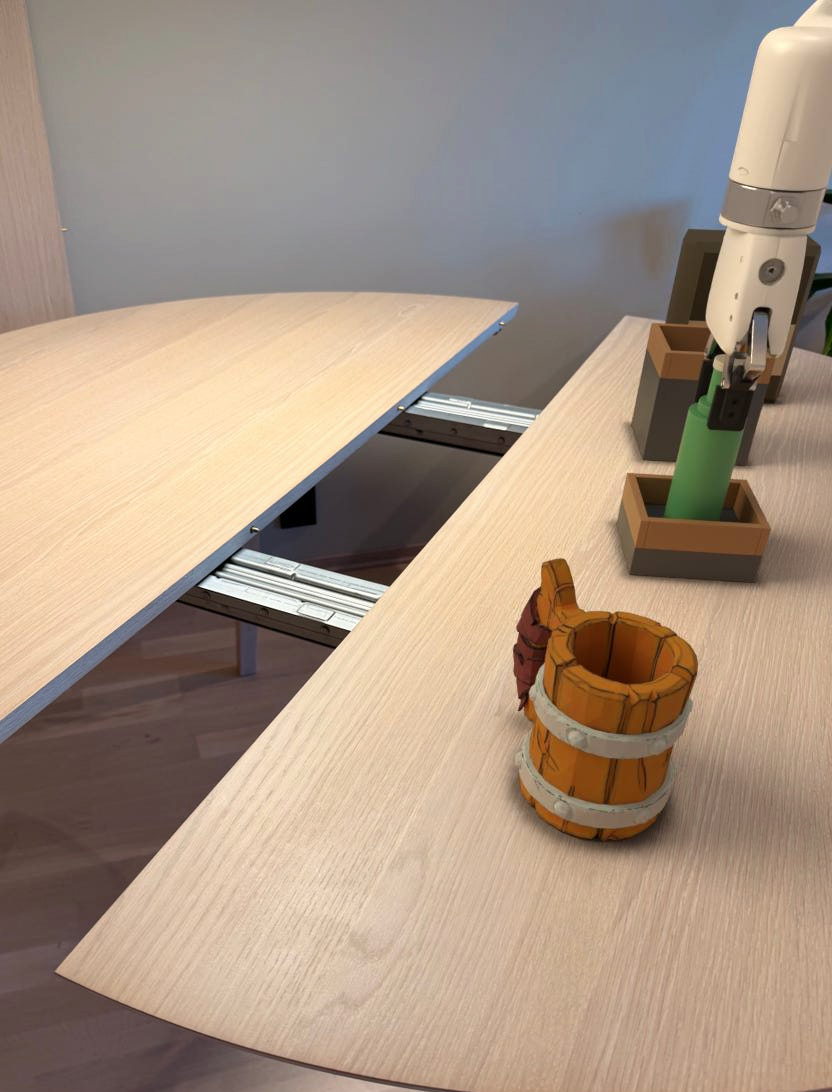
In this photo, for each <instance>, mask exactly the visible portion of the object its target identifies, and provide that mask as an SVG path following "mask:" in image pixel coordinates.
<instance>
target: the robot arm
mask: <svg viewBox="0 0 832 1092" xmlns="http://www.w3.org/2000/svg"><path fill="white" fill-rule="evenodd" d="M750 77H751V78H750V81H749V86H748V89H747V94H746V99H745V104H744V109H743V113H742V117H741V121H740V126H739V131H738V135H737V138H736V144H735V148H734V152H733V156H732V161H731V164H730V169H729V173H728V178H727V182H726V186H725V191H724V195H723V200H722V203H721V209H720V213H719V217H718V222H719V223H720V224H721V225H723V226H724V227H726V229H725V230H726V233H725V236H724V238H723V243H722V247H721V250H720V254H719V257H718V261H717V265H716V268H715V272H714V276H713V280H712V284H711V289H710V293H709V298H708V303H707V309H706V323H707V325H708V327H709V329H710V336H709V339H708V342H707V345H706V348H705V352H704V358H705V359H710V360H703V361H702V366H701V370H700V374H699V378H698V382H697V387H696V391H695V395H694V400H695V402H696V403H698V402H699V399H700V398H701V397H702V396H704V395H707V394H708V390H709V386H710V382H711V378H712V374H713V370H714V367H713V363H714V358H715V357H716V356H717V355H721V354H725V360H724V366H723V373H722V379H721V385H716V388H715V392H714V396H713V400H712V404H711V408H710V412H709V416H708V420H707V424H706V425H707V427H708V429H710V430H721V431H742V430H743V429H744V426H745V423H746V419H747V415H748V412H749V408H750V404H751V401H752V397H753V394H754V391H755V389H756V386H757V381H758V377H760V374H761V373H762V372H763V371H764V369H765V366H766V351H767V352H768V354H769V355H770V356H771V357H773V358H777V357H779V356H780V355H781V354H782V353H783V351H784V348H785V344H786V340H787V336H788V332H789V328H790V324H791V320H792V315H793V311H794V307H795V303H796V298H797V294H798V290H799V285H800V280H801V275H802V270H803V264H804V258H805V251H806V243H807V235H810V234H812V233H814V232H815V231H816V228H817V227H816V226H817V223H818V220H819V216H820V212H821V208H822V205H823V203H824V198H825V195H826V191H827V188H828V185H829V181H830V177H831V174H832V0H816V1H815V2H814V3H812V4H811V5H810V7H809V8H808V9H807V10H805V12H803V14H802V15H801V16H800V17H799V18H798V19H797V20H796V22H795V23H794V25H793V26H783V27H782V26H781V27H778V28H776V29H773V30H771V31H770V32H768V33H767V34H766V35H765V36H764V37H763V39H762V40H761V42H760V44H759V46H758V48H757V52H756V56H755V59H754V63H753V68H752V73H751V76H750ZM806 234H807V235H806ZM741 345H747V352H740V348H741ZM735 359H746V360H745V361H744V362H743V365H738V366H737V367H736V368H735V370H734V371H733V366H734V360H735Z"/></svg>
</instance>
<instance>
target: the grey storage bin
mask: <svg viewBox="0 0 832 1092" xmlns="http://www.w3.org/2000/svg"><path fill="white" fill-rule="evenodd" d="M709 336H710V329H709V327H708V326H707V325H686V324H666V323H665V322H664V323H663V322H651V323H650V329H649V334H648V339H647V343H646V348H645V353H644V358H643V363H642V368H641V374H640V378H639V383H638V388H637V393H636V399H635V402H634V403H635V404H634V407H633V412H632V413H633V414H632V418H631V421H630V424H631V425H630V426H631V429H632V432H633V435H634V438H635V441H636V444H637V447H638V450H639V454H640V457H641V460H643V461H657V462H658V461H659V462H675V463H676V461H677V457H678V453H679V449H680V445H681V440H682V436H683V432H684V428H685V423H686V419H687V415H688V411H689V407H690V406H691V405H693V404H695V403H696V402H695V400H694V395H695V391H696V387H697V382H698V378H699V374H700V370H701V366H702V361H703V360H710V359H705V358H704V352H705V348H706V345H707V342H708V339H709ZM740 352H747V345H741V348H740ZM775 360H776V358H773V357H771V356H770V355H769V354H768V352H767V351H766V366H765V369H764V371H763V372H762V373H761V374H760V377H758V381H757V386H756V389H755V391H754V394H753V397H752V401H751V404H750V408H749V412H748V415H747V421H746V425H745V428H744V432H743V436H742V439H741V443H740V447H739V450H738V454H737V458H736V461H735V465H734V466H746V465H747V462H748V458H749V455H750V451H751V448H752V445H753V441H754V437H755V434H756V431H757V427H758V424H759V420H760V418H761V417H760V416H761V412H762V410H763V406H764V402H765V401H764V399H765V395H766V392H767V388H768V385H769V381H770V377H771V374H772V370H773V367H774V363H775Z"/></svg>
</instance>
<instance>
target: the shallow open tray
mask: <svg viewBox="0 0 832 1092" xmlns="http://www.w3.org/2000/svg"><path fill="white" fill-rule="evenodd" d="M672 478H673V474H672V475H671V474H653V473H640V472H639V473H634V472H626V475H625V480H624V486H623V491H622V495H621V499H620V505H619V509H618V515H617V519H616V528H617V532H618V535H619V539H620V544H621V547H622V552H623V555H624V559H625V563H626V567H627V571H628V575H632V576H633V575H634V576H647V577H648V576H650V577H666V578H678V579H679V578H680V579H695V580H710V581H725V582H726V581H727V582H738V583H739V582H741V583H756V579H757V576H758V573H759V569H760V567H761V563H762V561H763V557H764V553H765V550H766V547H767V544H768V541H769V539H770V535H771V532H772V527H771V525H770V523H769V522H768V519H767V517H766V516H765V514H764V511H763V509H762V507H761V505H760V504H759V501H758V500H757V497H756V496H755V494H754V491H753V490H752V487H751V485H750V483H749V481H748V480H747V479H738V478H731V479H730V483H729V487H728V490H727V494H726V498H725V501H724V505H723V508H722V512H721V516H720V519H719V522H718V521H702V520H685V519H669V518H663V517H664V512H665V508H666V504H667V500H668V495H669V491H670V487H671V483H672Z"/></svg>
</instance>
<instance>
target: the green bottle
mask: <svg viewBox="0 0 832 1092" xmlns="http://www.w3.org/2000/svg"><path fill="white" fill-rule="evenodd" d="M724 360H725V354H721V355H717V356H716V357H715V358H714V363H713V367H714V370H713V374H712V378H711V382H710V386H709V390H708V394H707V395H704V396H702V397H701V398H700V399H699V402H698V403H695V404H693V405H691V406H690V407H689V411H688V415H687V419H686V423H685V428H684V432H683V436H682V440H681V445H680V449H679V453H678V457H677V461H676V462H675V465H674V466H675V467H674V470H673V474H672V475H673V478H672V483H671V487H670V491H669V495H668V500H667V504H666V508H665V512H664V517H663V518H669V519H685V520H702V521H718V522H719V519H720V516H721V512H722V508H723V505H724V501H725V498H726V494H727V490H728V487H729V483H730V479H732V476H733V472H734V468H735V466H736V465H735V461H736V458H737V454H738V450H739V447H740V443H741V439H742V436H743V432H744V429H743V430H742V431H721V430H710V429H708V427H707V425H706V424H707V420H708V416H709V412H710V408H711V404H712V400H713V396H714V392H715V388H716V385H721V379H722V373H723V366H724ZM745 360H746V359H735V360H734V366H733V371H734V370H735V368H736V367H737V366H738V365H743V362H744V361H745ZM746 421H747V419H746ZM745 425H746V423H745ZM744 428H745V426H744Z"/></svg>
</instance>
